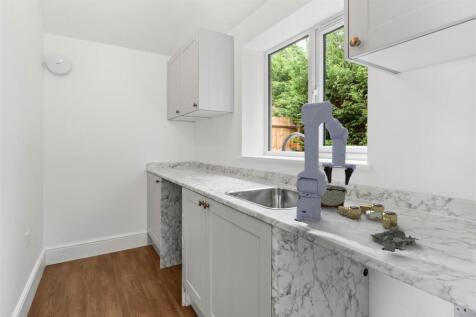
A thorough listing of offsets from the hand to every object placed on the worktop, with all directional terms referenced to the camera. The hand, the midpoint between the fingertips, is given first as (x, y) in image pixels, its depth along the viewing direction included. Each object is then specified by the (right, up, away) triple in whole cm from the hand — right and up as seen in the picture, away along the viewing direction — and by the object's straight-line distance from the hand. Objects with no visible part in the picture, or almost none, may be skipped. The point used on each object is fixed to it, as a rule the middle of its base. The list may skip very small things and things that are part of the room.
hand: (338, 184), depth 114 cm
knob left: (-4, -10, -20) cm, 23 cm away
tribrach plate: (+4, -11, -23) cm, 26 cm away
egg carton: (-2, -13, -45) cm, 47 cm away
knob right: (+4, -11, -31) cm, 33 cm away
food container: (-5, -11, -5) cm, 13 cm away
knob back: (+6, -10, -17) cm, 21 cm away
